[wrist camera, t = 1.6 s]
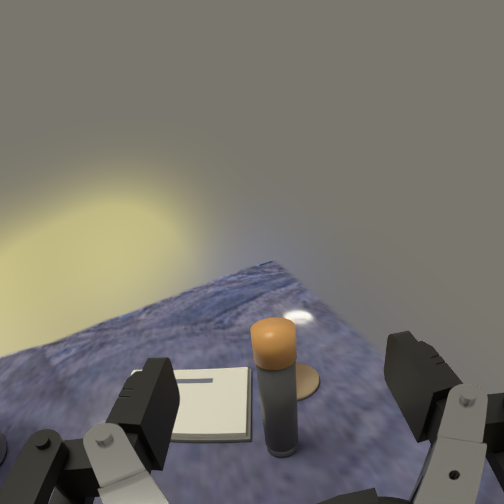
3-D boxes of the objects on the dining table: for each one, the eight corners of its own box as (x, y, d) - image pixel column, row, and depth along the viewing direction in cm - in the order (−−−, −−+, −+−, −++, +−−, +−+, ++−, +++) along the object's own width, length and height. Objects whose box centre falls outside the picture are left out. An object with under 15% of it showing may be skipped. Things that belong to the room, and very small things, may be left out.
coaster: (260, 404, 33) (259, 401, 33) (259, 368, 40) (259, 365, 39) (323, 397, 33) (323, 394, 33) (314, 362, 39) (314, 359, 39)
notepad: (103, 435, 28) (100, 429, 28) (133, 374, 40) (131, 367, 39) (250, 441, 28) (249, 434, 27) (251, 371, 39) (250, 364, 39)
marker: (265, 460, 25) (250, 342, 21) (264, 436, 28) (250, 319, 24) (300, 457, 25) (297, 337, 21) (297, 433, 28) (292, 315, 24)
